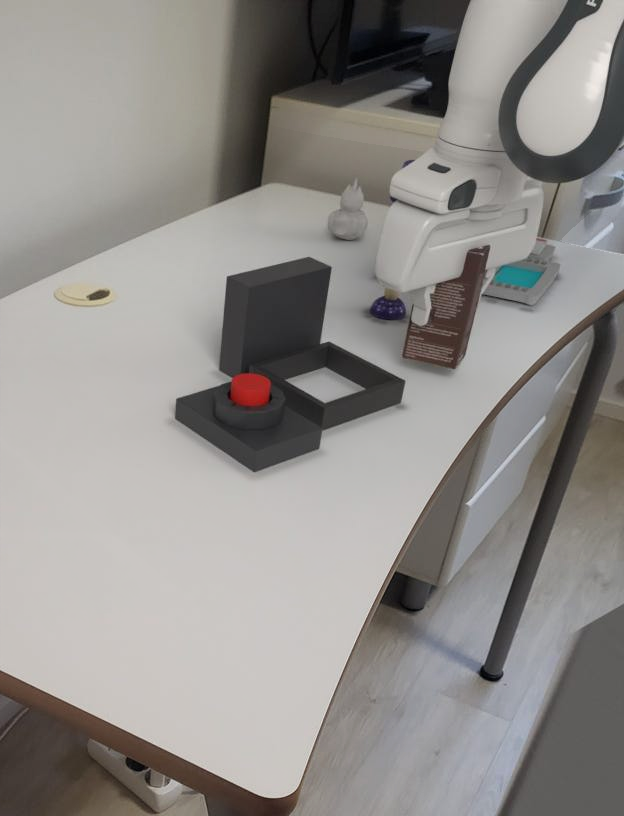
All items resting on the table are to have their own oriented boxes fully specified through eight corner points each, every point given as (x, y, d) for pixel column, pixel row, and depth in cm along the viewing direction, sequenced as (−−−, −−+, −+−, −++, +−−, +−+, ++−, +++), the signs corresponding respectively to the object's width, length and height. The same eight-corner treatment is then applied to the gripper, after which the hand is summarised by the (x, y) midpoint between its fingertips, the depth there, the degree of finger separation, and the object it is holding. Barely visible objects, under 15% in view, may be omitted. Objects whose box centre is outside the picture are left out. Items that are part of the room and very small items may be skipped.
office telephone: (434, 211, 139) (577, 237, 132) (430, 230, 141) (571, 257, 134) (380, 255, 124) (539, 288, 116) (376, 276, 125) (532, 310, 118)
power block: (319, 449, 91) (325, 410, 88) (254, 473, 87) (258, 433, 84) (238, 399, 98) (241, 361, 95) (174, 419, 94) (176, 380, 92)
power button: (276, 402, 90) (279, 384, 89) (246, 411, 88) (248, 394, 87) (251, 387, 92) (253, 370, 91) (222, 396, 90) (223, 378, 89)
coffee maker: (401, 403, 98) (422, 306, 92) (320, 431, 93) (337, 331, 87) (296, 347, 108) (308, 256, 101) (218, 370, 103) (226, 276, 96)
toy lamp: (365, 304, 118) (392, 156, 107) (403, 304, 118) (433, 157, 108) (374, 319, 115) (402, 168, 104) (412, 320, 115) (445, 169, 104)
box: (465, 355, 104) (494, 241, 96) (455, 372, 101) (484, 254, 93) (411, 343, 106) (435, 230, 98) (398, 359, 103) (422, 243, 95)
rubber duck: (371, 237, 137) (382, 176, 132) (353, 250, 133) (363, 188, 128) (336, 229, 139) (345, 169, 134) (317, 241, 135) (325, 180, 130)
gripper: (521, 151, 98) (485, 287, 107) (378, 179, 89) (352, 325, 98) (573, 166, 94) (532, 306, 103) (430, 197, 85) (398, 348, 94)
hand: (444, 316), depth 100 cm, fingers closed on box, 5 cm apart
